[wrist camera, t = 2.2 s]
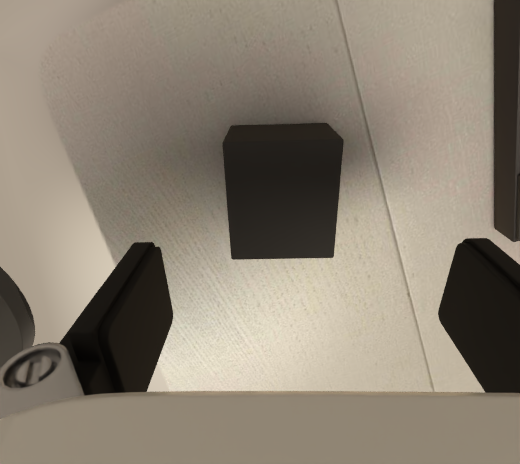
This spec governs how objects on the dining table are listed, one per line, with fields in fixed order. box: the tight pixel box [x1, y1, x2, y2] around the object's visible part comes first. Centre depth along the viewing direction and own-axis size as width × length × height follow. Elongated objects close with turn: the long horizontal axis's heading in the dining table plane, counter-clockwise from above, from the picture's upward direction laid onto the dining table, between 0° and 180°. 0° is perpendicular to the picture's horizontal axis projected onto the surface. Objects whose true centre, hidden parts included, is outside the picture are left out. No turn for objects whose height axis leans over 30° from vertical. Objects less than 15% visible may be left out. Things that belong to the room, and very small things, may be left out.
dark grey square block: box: [223, 123, 343, 259], centre depth 19 cm, size 6×6×4 cm
